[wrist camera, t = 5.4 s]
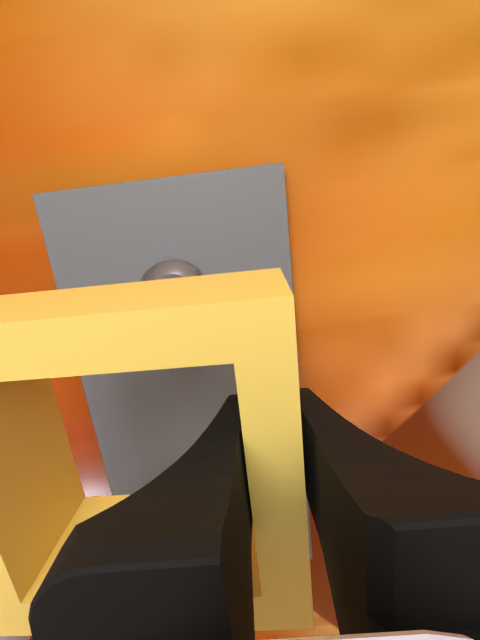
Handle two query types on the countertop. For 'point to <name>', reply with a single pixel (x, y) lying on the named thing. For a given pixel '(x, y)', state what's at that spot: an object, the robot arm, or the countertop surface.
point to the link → (139, 355)
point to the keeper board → (129, 266)
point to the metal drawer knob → (171, 270)
